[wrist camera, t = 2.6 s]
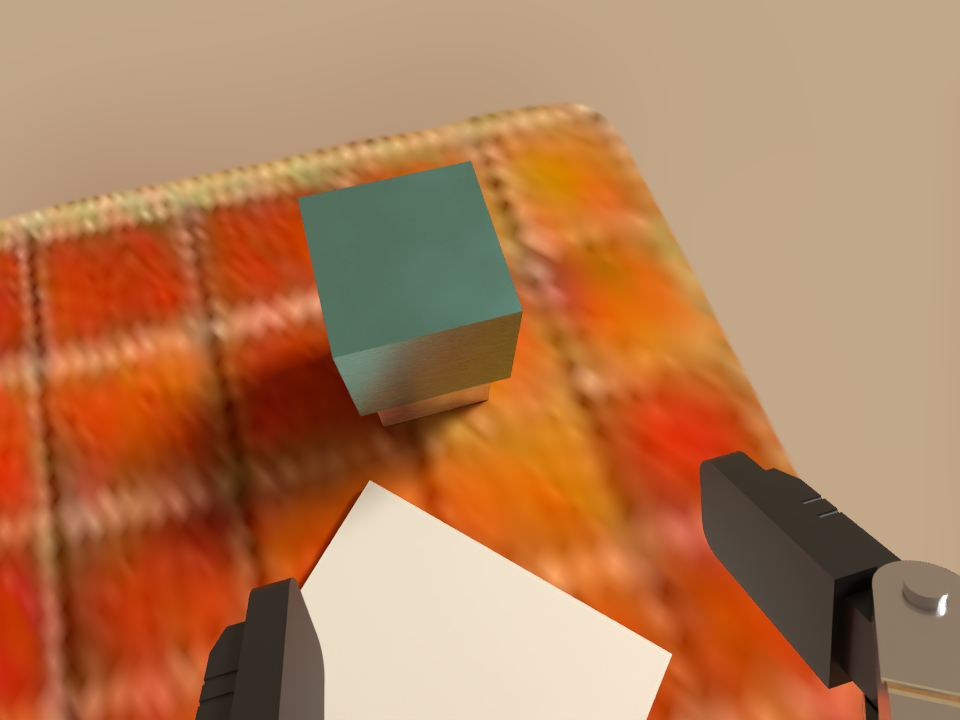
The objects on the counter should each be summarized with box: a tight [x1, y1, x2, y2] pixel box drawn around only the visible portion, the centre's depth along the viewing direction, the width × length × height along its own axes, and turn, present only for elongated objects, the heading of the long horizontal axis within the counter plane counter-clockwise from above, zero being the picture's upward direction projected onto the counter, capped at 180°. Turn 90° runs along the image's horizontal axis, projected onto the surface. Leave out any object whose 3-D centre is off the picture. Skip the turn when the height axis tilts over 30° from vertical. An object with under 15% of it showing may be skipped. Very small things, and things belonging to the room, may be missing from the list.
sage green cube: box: [298, 161, 523, 416], centre depth 25 cm, size 6×6×6 cm
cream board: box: [301, 480, 672, 720], centre depth 25 cm, size 14×12×1 cm
